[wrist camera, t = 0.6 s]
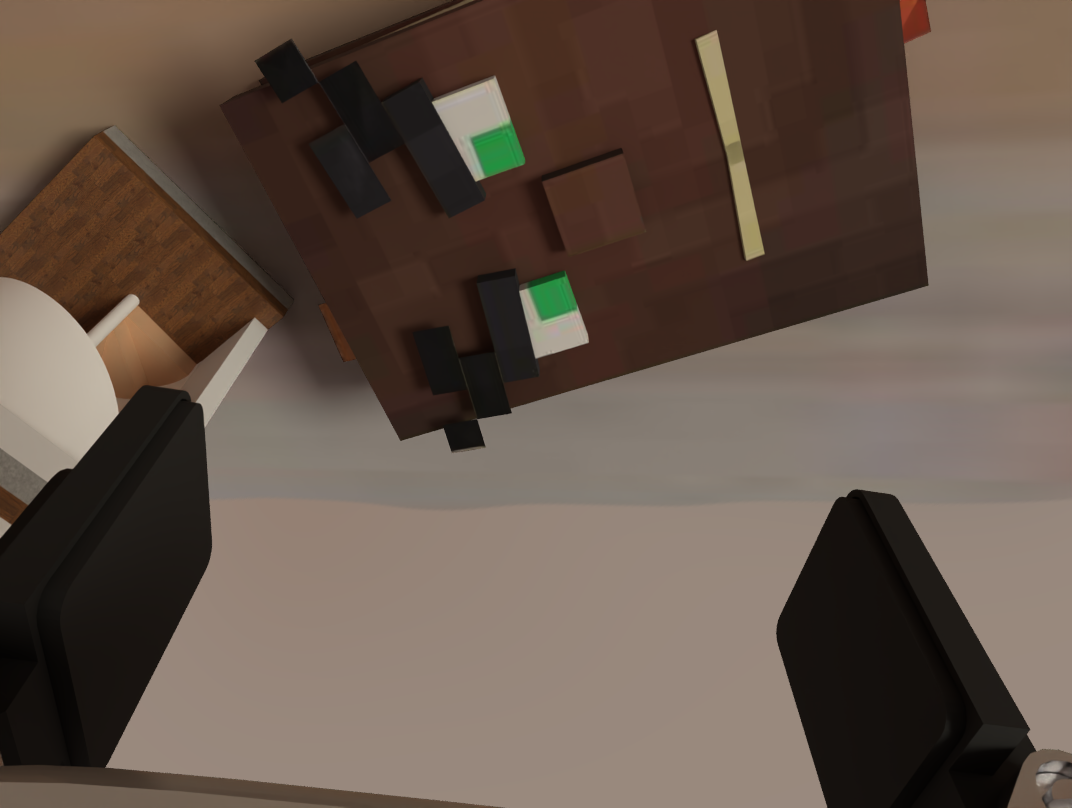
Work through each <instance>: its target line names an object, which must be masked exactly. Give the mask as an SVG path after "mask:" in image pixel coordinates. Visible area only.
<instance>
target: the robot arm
mask: <svg viewBox="0 0 1072 808" xmlns="http://www.w3.org/2000/svg"><path fill="white" fill-rule="evenodd" d="M210 520H211V519H210V505H209V489H208V473H207V458H206V443H205V428H204V413H203V407H202V405H201V404H200V403H196V402H191V397H190V395H189V393H188V392H187V391H184V390H177V389H171V388H164V387H157V386H150V385H144V386H142V387H141V388H140V389H139V390H138V391H137V392H136V393H135V394H134V396H133V397H132V398H131V399H130V400H129V402H128V403H127V404H126V405H125V406H124V408H123V409H122V410H121V411H120V413H119V414H118V415H117V416H116V417H115V419H114V420H113V421H112V422H111V423H110V425H109V426H108V427H107V428H106V429H105V431H104V432H103V433H102V434H101V436H100V437H99V438H98V439H97V440H96V442H95V443H94V444H93V445H92V446H91V448H90V449H89V450H88V451H87V453H86V454H85V455H84V456H83V457H82V459H81V460H80V461H79V462H78V463H77V465H76V466H75V467H74V468H73V469H69V468H66V469H63V470H61V471H59V472H58V473H57V474H55V475H54V476H53V477H52V478H51V479H50V480H49V481H48V483H47V484H46V485H45V486H44V487H43V489H42V490H41V491H40V492H39V493H38V494H37V496H36V497H35V498H34V499H33V500H32V501H31V503H30V504H29V505H28V506H27V507H26V509H25V510H24V511H23V512H22V513H21V514H20V516H19V517H18V518H17V519H16V520H15V521H14V523H13V524H12V525H11V526H10V527H9V529H8V530H7V531H6V532H5V533H4V534H3V536H2V537H1V538H0V808H503V807H493V806H484V805H474V804H466V803H457V802H448V801H439V800H429V799H419V798H410V797H401V796H391V795H382V794H372V793H362V792H353V791H343V790H334V789H323V788H315V787H305V786H296V785H286V784H276V783H267V782H258V781H248V780H238V779H227V778H215V777H204V776H194V775H182V774H171V773H160V772H148V771H137V770H126V769H114V768H105V767H106V765H107V764H108V762H109V760H110V758H111V756H112V754H113V752H114V750H115V748H116V746H117V744H118V742H119V740H120V738H121V736H122V734H123V732H124V730H125V728H126V726H127V724H128V722H129V720H130V718H131V716H132V714H133V713H134V711H135V709H136V707H137V705H138V703H139V701H140V699H141V697H142V695H143V693H144V691H145V689H146V687H147V685H148V683H149V681H150V679H151V677H152V675H153V673H154V671H155V669H156V667H157V665H158V663H159V661H160V659H161V657H162V655H163V653H164V651H165V649H166V647H167V645H168V644H169V642H170V639H171V638H172V636H173V633H174V632H175V630H176V628H177V626H178V624H179V622H180V620H181V618H182V615H183V614H184V612H185V610H186V608H187V606H188V604H189V602H190V600H191V598H192V596H193V594H194V592H195V590H196V588H197V586H198V584H199V582H200V580H201V578H202V576H203V574H204V572H205V570H206V568H207V566H208V563H209V560H210V556H211V550H212V535H211V521H210ZM776 634H777V642H778V646H779V650H780V652H781V656H782V659H783V663H784V666H785V669H786V672H787V676H788V679H789V682H790V686H791V689H792V692H793V695H794V699H795V702H796V705H797V709H798V712H799V715H800V719H801V722H802V725H803V728H804V731H805V735H806V738H807V742H808V745H809V748H810V751H811V755H812V758H813V761H814V765H815V768H816V771H817V774H818V778H819V781H820V784H821V788H822V791H823V794H824V798H825V801H826V804H827V808H1072V754H1071V753H1068V752H1064V751H1061V750H1053V749H1052V750H1051V749H1042V750H1039V751H1036V750H1035V748H1034V746H1033V745H1032V743H1031V741H1030V739H1029V738H1028V736H1027V733H1028V732H1029V730H1030V728H1029V727H1028V725H1027V723H1026V721H1025V720H1024V718H1023V716H1022V714H1021V713H1020V711H1019V709H1018V707H1017V706H1016V704H1015V702H1014V701H1013V699H1012V697H1011V695H1010V694H1009V692H1008V690H1007V688H1006V687H1005V685H1004V683H1003V681H1002V680H1001V678H1000V676H999V674H998V673H997V671H996V669H995V667H994V666H993V664H992V662H991V661H990V659H989V657H988V655H987V654H986V652H985V650H984V648H983V647H982V645H981V643H980V641H979V639H978V638H977V636H976V634H975V633H974V631H973V629H972V627H971V626H970V624H969V622H968V620H967V619H966V617H965V615H964V613H963V612H962V610H961V608H960V606H959V605H958V603H957V601H956V599H955V598H954V596H953V594H952V592H951V591H950V589H949V587H948V586H947V584H946V582H945V580H944V579H943V577H942V575H941V573H940V572H939V570H938V568H937V566H936V565H935V563H934V561H933V559H932V558H931V556H930V554H929V552H928V551H927V549H926V547H925V546H924V544H923V542H922V540H921V538H920V537H919V535H918V533H917V532H916V530H915V528H914V526H913V525H912V523H911V521H910V520H909V518H908V516H907V514H906V512H905V511H904V509H903V507H902V505H901V504H900V502H899V500H898V499H897V498H896V497H895V496H893V495H891V494H885V493H878V492H871V491H865V490H858V489H856V490H852V491H851V492H850V493H849V494H848V495H847V497H839V498H838V499H837V500H836V501H835V503H834V504H833V506H832V509H831V511H830V513H829V515H828V517H827V519H826V521H825V523H824V525H823V527H822V529H821V531H820V534H819V536H818V538H817V540H816V542H815V544H814V546H813V548H812V550H811V552H810V554H809V557H808V559H807V561H806V563H805V565H804V567H803V569H802V571H801V573H800V575H799V577H798V579H797V581H796V584H795V586H794V588H793V590H792V592H791V594H790V596H789V598H788V600H787V602H786V604H785V606H784V609H783V611H782V613H781V615H780V617H779V620H778V624H777V632H776Z"/></svg>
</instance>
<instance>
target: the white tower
mask: <svg viewBox="0 0 1072 808" xmlns="http://www.w3.org/2000/svg"><path fill="white" fill-rule="evenodd" d="M293 301H294V300H293V299H292V298H291V297H290V296H289V295H288V294H287V293H286V292H285V291H284V290H283V289H282V288H281V287H280V286H279V285H278V284H277V283H276V282H275V281H274V280H273V279H272V278H271V277H270V276H269V275H268V274H267V273H266V272H265V271H264V270H263V269H262V268H261V267H260V266H259V265H258V264H256V263H255V262H254V261H253V260H252V259H251V258H250V257H249V256H248V255H247V254H246V253H245V252H244V251H243V250H242V249H241V248H240V247H239V246H238V245H237V244H236V243H235V242H234V241H233V240H232V239H231V238H230V237H229V236H228V235H227V234H226V233H225V232H224V231H223V230H222V229H221V228H220V227H218V226H217V225H216V224H215V223H214V222H213V221H212V220H211V219H210V218H209V217H208V216H207V215H206V214H205V213H204V212H203V211H202V210H201V209H200V208H199V207H198V206H197V205H196V204H195V203H194V202H193V201H192V200H191V199H190V198H189V197H188V196H187V195H186V194H185V193H184V192H183V191H182V190H181V189H179V188H178V187H177V186H176V185H175V184H174V183H173V182H172V181H171V180H170V179H169V178H168V177H167V176H166V175H165V174H164V173H163V172H162V171H161V170H160V169H159V168H158V167H157V166H156V165H155V164H154V163H153V162H152V161H151V160H150V159H149V158H148V157H147V156H146V155H145V154H144V153H143V152H141V151H140V150H139V149H138V148H137V147H136V146H135V145H134V144H133V143H132V142H131V141H130V140H129V139H128V138H127V137H126V136H125V135H124V134H123V133H122V132H121V131H120V130H119V129H118V128H117V127H116V126H115V125H114V126H112V127H110V128H108V129H107V130H105V131H103V132H101V133H99V134H97V135H95V136H94V137H93V138H92V139H91V140H90V141H89V142H88V143H87V144H86V145H85V146H84V147H83V148H82V149H81V150H80V151H79V152H78V153H77V154H76V155H75V156H74V157H73V159H72V160H71V161H70V162H69V163H68V164H67V165H66V166H65V167H64V168H63V169H62V170H61V171H60V172H59V173H58V174H57V175H56V176H55V177H54V178H53V179H52V181H51V182H50V183H49V184H48V185H47V186H46V187H45V188H44V189H43V190H42V191H41V192H40V193H39V194H38V195H37V196H36V197H35V198H34V199H33V200H32V201H31V203H30V204H29V205H28V206H27V207H26V208H25V209H24V210H23V211H22V212H21V213H20V214H19V215H18V216H17V217H16V218H15V219H14V220H13V221H12V222H11V223H10V225H9V226H8V227H7V228H6V229H5V230H4V231H3V232H2V233H1V234H0V538H1V537H2V536H3V534H4V533H5V532H6V531H7V530H8V529H9V527H10V526H11V525H12V524H13V523H14V521H15V520H16V519H17V518H18V517H19V516H20V514H21V513H22V512H23V511H24V510H25V509H26V507H27V506H28V505H29V504H30V503H31V501H32V500H33V499H34V498H35V497H36V496H37V494H38V493H39V492H40V491H41V490H42V489H43V487H44V486H45V485H46V484H47V483H48V481H49V480H50V479H51V478H52V477H53V476H54V475H55V474H57V473H58V472H59V471H61V470H63V469H66V468H69V469H73V468H74V467H75V466H76V465H77V463H78V462H79V461H80V460H81V459H82V457H83V456H84V455H85V454H86V453H87V451H88V450H89V449H90V448H91V446H92V445H93V444H94V443H95V442H96V440H97V439H98V438H99V437H100V436H101V434H102V433H103V432H104V431H105V429H106V428H107V427H108V426H109V425H110V423H111V422H112V421H113V420H114V419H115V417H116V416H117V415H118V414H119V413H120V411H121V410H122V409H123V408H124V406H125V405H126V404H127V403H128V402H129V400H130V399H131V398H132V397H133V396H134V394H135V393H136V392H137V391H138V390H139V389H140V388H141V387H142V386H144V385H150V386H157V387H164V388H171V389H177V390H184V391H187V392H188V393H189V395H190V397H191V402H196V403H200V404H201V405H202V407H203V413H204V428H205V426H206V425H207V423H208V422H209V420H210V419H211V417H212V416H213V414H214V412H215V411H216V409H217V408H218V406H219V405H220V403H221V402H222V400H223V399H224V397H225V395H226V394H227V392H228V391H229V389H230V388H231V386H232V385H233V383H234V381H235V380H236V378H237V377H238V375H239V374H240V372H241V371H242V369H243V368H244V366H245V364H246V363H247V361H248V360H249V358H250V357H251V355H252V354H253V352H254V351H255V349H256V347H257V346H258V344H259V343H260V341H261V340H262V338H263V337H264V335H265V333H266V332H267V330H268V329H269V328H271V327H272V326H273V325H274V324H276V323H277V322H278V321H279V320H280V319H282V318H283V317H284V315H285V314H286V312H287V311H288V309H289V307H290V306H291V304H292V303H293Z"/></svg>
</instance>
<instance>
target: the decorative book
mask: <svg viewBox="0 0 1072 808" xmlns="http://www.w3.org/2000/svg"><path fill="white" fill-rule="evenodd" d="M929 32H931V29H930V23H929V18H928V12H927V6H926V1H925V0H453V1H451V2H448V3H446V4H443V5H441V6H438V7H436V8H433V9H431V10H428V11H426V12H423V13H421V14H418V15H416V16H413V17H411V18H408V19H406V20H403V21H401V22H398V23H396V24H394V25H391V26H389V27H386V28H384V29H381V30H379V31H376V32H374V33H371V34H369V35H366V36H364V37H361V38H359V39H356V40H354V41H351V42H349V43H346V44H344V45H341V46H339V47H336V48H334V49H331V50H329V51H326V52H324V53H321V54H319V55H316V56H314V57H311V58H309V59H306V60H305V59H304V58H303V56H302V54H301V53H300V51H299V49H298V48H297V46H296V45H295V43H294V41H293V40H292V39H290V40H288V41H287V42H285V43H283V44H282V45H280V46H278V47H277V48H275V49H273V50H272V51H270V52H269V53H267V54H265V55H264V56H262V57H260V58H259V59H257V60H255V62H256V64H257V66H258V67H259V69H260V70H261V72H262V73H263V75H264V76H265V77H264V78H262V79H261V80H259V82H260V84H261V86H259V87H256V88H254V89H251V90H249V91H246V92H244V93H241V94H239V95H236V96H234V97H232V98H231V99H229V100H228V101H226V102H225V103H223V104H221V105H220V107H221V109H222V111H223V113H224V115H225V117H226V118H227V120H228V122H229V124H230V126H231V128H232V129H233V131H234V133H235V135H236V137H237V139H238V141H239V142H240V144H241V146H242V148H243V150H244V152H245V154H246V155H247V157H248V159H249V161H250V163H251V165H252V167H253V168H254V170H255V172H256V174H257V176H258V178H259V179H260V181H261V183H262V185H263V187H264V189H265V191H266V192H267V194H268V196H269V198H270V200H271V202H272V204H273V205H274V207H275V209H276V211H277V213H278V215H279V217H280V218H281V220H282V222H283V224H284V226H285V228H286V229H287V231H288V233H289V235H290V237H291V239H292V241H293V242H294V244H295V246H296V248H297V250H298V252H299V254H300V255H301V257H302V259H303V261H304V263H305V265H306V267H307V268H308V270H309V272H310V274H311V276H312V278H313V279H314V281H315V283H316V285H317V287H318V289H319V291H320V292H321V294H322V296H323V298H324V300H325V302H326V303H324V304H320V305H318V306H319V308H320V310H321V312H322V315H323V317H324V319H325V321H326V324H327V326H328V328H329V330H330V333H331V335H332V337H333V340H334V342H335V344H336V346H337V349H338V351H339V353H340V355H341V358H342V360H343V362H346V361H350V360H355V359H357V361H358V363H359V365H360V367H361V368H362V370H363V372H364V374H365V376H366V378H367V379H368V381H369V383H370V385H371V387H372V389H373V391H374V392H375V394H376V396H377V398H378V400H379V402H380V404H381V405H382V407H383V409H384V411H385V413H386V415H387V417H388V418H389V420H390V422H391V424H392V426H393V428H394V429H395V431H396V433H397V435H398V437H399V439H400V441H402V440H405V439H408V438H412V437H415V436H419V435H422V434H425V433H429V432H432V431H436V430H439V429H442V428H444V430H445V433H446V436H447V439H448V442H449V445H450V448H451V451H452V453H457V452H463V451H469V450H475V449H481V448H486V447H485V444H484V440H483V437H482V434H481V430H480V427H479V424H478V421H477V419H481V418H487V417H493V416H498V415H504V414H510V413H512V412H511V409H510V408H514V407H517V406H521V405H524V404H527V403H531V402H534V401H538V400H541V399H544V398H548V397H551V396H554V395H558V394H561V393H565V392H568V391H571V390H575V389H578V388H582V387H585V386H588V385H592V384H595V383H599V382H602V381H605V380H609V379H612V378H616V377H619V376H622V375H626V374H629V373H633V372H636V371H639V370H643V369H646V368H650V367H653V366H656V365H660V364H663V363H667V362H670V361H673V360H677V359H680V358H684V357H687V356H690V355H694V354H697V353H701V352H704V351H707V350H711V349H714V348H718V347H721V346H724V345H728V344H731V343H735V342H738V341H741V340H745V339H748V338H752V337H755V336H758V335H762V334H765V333H769V332H772V331H775V330H779V329H782V328H786V327H789V326H792V325H796V324H799V323H803V322H806V321H809V320H813V319H816V318H820V317H823V316H826V315H830V314H833V313H837V312H840V311H843V310H847V309H850V308H854V307H857V306H860V305H864V304H867V303H871V302H874V301H877V300H881V299H884V298H888V297H891V296H894V295H898V294H901V293H905V292H908V291H911V290H915V289H918V288H922V287H925V286H928V276H927V266H926V256H925V246H924V237H923V227H922V217H921V207H920V197H919V187H918V177H917V167H916V158H915V148H914V138H913V128H912V118H911V108H910V98H909V88H908V78H907V69H906V59H905V49H904V43H907V42H909V41H911V40H913V39H916V38H918V37H920V36H923V35H925V34H927V33H929ZM476 418H477V419H476ZM473 419H475V420H473Z"/></svg>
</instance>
